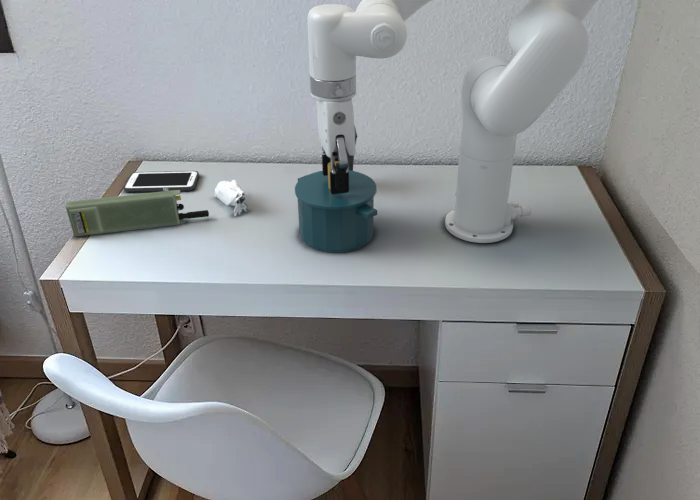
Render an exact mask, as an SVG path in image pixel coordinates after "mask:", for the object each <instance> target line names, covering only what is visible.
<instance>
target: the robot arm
mask: <svg viewBox="0 0 700 500" xmlns="http://www.w3.org/2000/svg"><path fill="white" fill-rule="evenodd" d="M432 1H433V0H361V1H360V3H359V4H358V6H357V7H356V9H355V11H354V9H353V8H352V7H350V6H348V5H345V4H339V3H324V4H319V5H316V6H313V7H311V8H310V9H309V11H308V13H307V19H306V23H307V25H306V26H307V46H308V48H307V49H308V64H309V65H308V66H309V67H308V68H309V90H310V93H309V94H310V97H311V98H312V99H314V100H316V114H317V115H316V118H317V119H316V122H317V134H318V140H319V142H320V144H321V151H322V154H321V166H322V170H321V171H323V175H324V176H328V163H329V162H331V170H332V172H330V192H331V194H340V193H348V192H349V169H348V159H347V152H348V153H349V155H351V156H354V157H355V155H356V153H357V152H356V151H357V149H356V148H357V147H356V146H355V128H356V127H355V128H354V125H355V116H354V115H355V114H354V104H353V98H354V97H356V95H357V57H363V58H368V59H369V58H370V59H379V60H381V59H389V58H392V57H394V56H396V55H398V54H399V53H400V52H401V51H402V50H403V48H404V47H405V45H406V43H407V38H408V29H407V26H406V23H405V22H406V21H407V20H408V19H409V18H410V17H412V16H413V15H414V14H415V13H416V12H418V11H419V10H420V9H421V8H423V7H424V6H426V5H427V4H428V3H430V2H432ZM597 2H599V0H528V1H527V2H526V4H525V5H524V6H522V8H521V9H520V11H518V14H517V15H516V16H515V18H514V19H513V21H512V22H511V24H510V25H509V28H508V32H507V33H508V34H507V37H508V38H507V39H508V44H509V46H510V48H511V51H512V52H513V53H514V54H515V55H514V56H513V57H512V58H511V60H509V59H507V58H505V57H503V56H499V55H486V56H483V57H481V58H479V59H477V60H475V61H474V62H473V63H472V64H471V65H470V66H469V68H468V69H467V71H466V72H465V74H464V77H463V79H462V84H461V92H460V93H461V95H460V96H461V97H460V98H461V99H460V101H461V105H460V106H461V125H460V126H461V127H460V143H459V151H458V164H457V176H456V185H455V186H456V187H455V199H454V200H455V201H454V209H452V210H450V211H449V212H448V213H447V214H446V216H445V218H444V226H445V228H446V230H447V232H449V233H450V234H451V235H453V236H454V237H455V238H458V239H459V240H463V241H465V242H469V243H476V244H492V243H497V242H500V241H503V240H505V239H507V238H508V237H510V235H511V234H512V232H513V229H514V222H513V220H515V219H516V218H519V217H521V218H522V217H530V216H531V215H532V208H531V206H530V205H522V206H520V204H519V201H510V202H509V197H510V196H509V194H510V188H511V182H512V175H513V167H514V160H515V153H516V145H517V137H518V136H517V135H519V134H520V133H523V132H524V131H526V130H527V129H529V127H531V126H532V125H533V124H535V122H536V121H537V120H538V119H539V118H540V117H541V115H542V114H543V113H544V112H545V111H546V110H547V109H548V108H549V107H550V105H551V104H552V103H553V102H554V101H555V99H556V98H557V97H558V96H559V95H560V94H561V92H562V91H563V90H564V89H565V88H566V86H567V85H568V84H569V83H570V82H571V81H572V80H573V78H574V77H575V76H576V75H577V74H578V72H579V71H580V69H581V67H582V66H583V63H584V61H585V60H586V57H587V55H588V50H589V34H588V31H587V29H586V27H585V25H584V24H583V23H582V22H583V21H584V19H585V18H586V17H587V16H588V14H589V13H590V11H592V9H593V7H594V6H595V5H596V3H597ZM337 152H338V153H337ZM335 161H338V163H336V166H335Z"/></svg>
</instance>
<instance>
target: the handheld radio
mask: <svg viewBox="0 0 700 500" xmlns="http://www.w3.org/2000/svg"><path fill="white" fill-rule="evenodd" d="M180 194H181V190H171V191H152V192H144V193H136V194H127V195H126V194H125V195H117V196H116V195H115V196H109V197H99V198H89V199H82V200H81V199H80V200H72V201H70V200H69V201H66V202H65V210H66V213H67V217H68V220H69V223H70V226H71V230H72V233H73V236H74V237H84V236H92V235H93V236H94V235H101V234H110V233H117V232H126V231H127V232H128V231H136V230H145V229H152V228H153V229H154V228H161V227H169V226H177V225H182V224H185V223H186V220H187V219H188V220H189V219H199V218H208V217H209V215H210V213H209V210H208V209H205V210H195V211H188V212H184V213H183V212H179V211H183V210H184V209H185V205H184V204H183V203H178V202H177V201H181V200H182V196H181V195H180Z"/></svg>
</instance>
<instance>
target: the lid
mask: <svg viewBox="0 0 700 500" xmlns="http://www.w3.org/2000/svg"><path fill="white" fill-rule="evenodd" d="M336 163H338V161H335V166H336ZM330 172H332V170H331V162H329V163H328V176H324V175H323V170H319V171H316V172H311V173H310V174H306V175H307V176H305V175H304V176H305V177H303V176H302V177H303V178H302V179H300V180H299V181H298V180H297V182H296V184H295V186H294V195H295V196H296V198H297V200H298V199H299V200H300V201H301V202H303V203H304V204H306V205H309V206H311V207H315V208H319V209H327V210H341V209H349V208H354V207H357V206H360V205H363V204H365V203H367V202H368V201H370V200H371V199H372V198H373V197H374V198H375V196H376V194H377V184H376V182H375V180H374V179H372V177H370V176H369V175H367V174H365V173H362V172H360V171H356V170H353V171H351V170H349V192H348V193H340V194H331V192H330Z"/></svg>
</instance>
